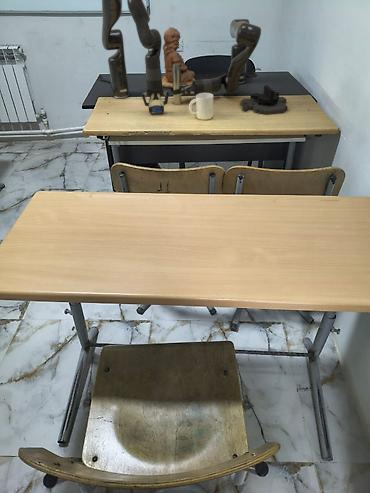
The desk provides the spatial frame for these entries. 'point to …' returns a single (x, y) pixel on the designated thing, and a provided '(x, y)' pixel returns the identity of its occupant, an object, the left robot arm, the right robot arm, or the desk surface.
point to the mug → (203, 106)
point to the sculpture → (174, 59)
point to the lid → (156, 108)
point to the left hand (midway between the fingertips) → (156, 113)
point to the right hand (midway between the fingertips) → (172, 91)
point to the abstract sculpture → (265, 102)
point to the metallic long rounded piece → (176, 82)
